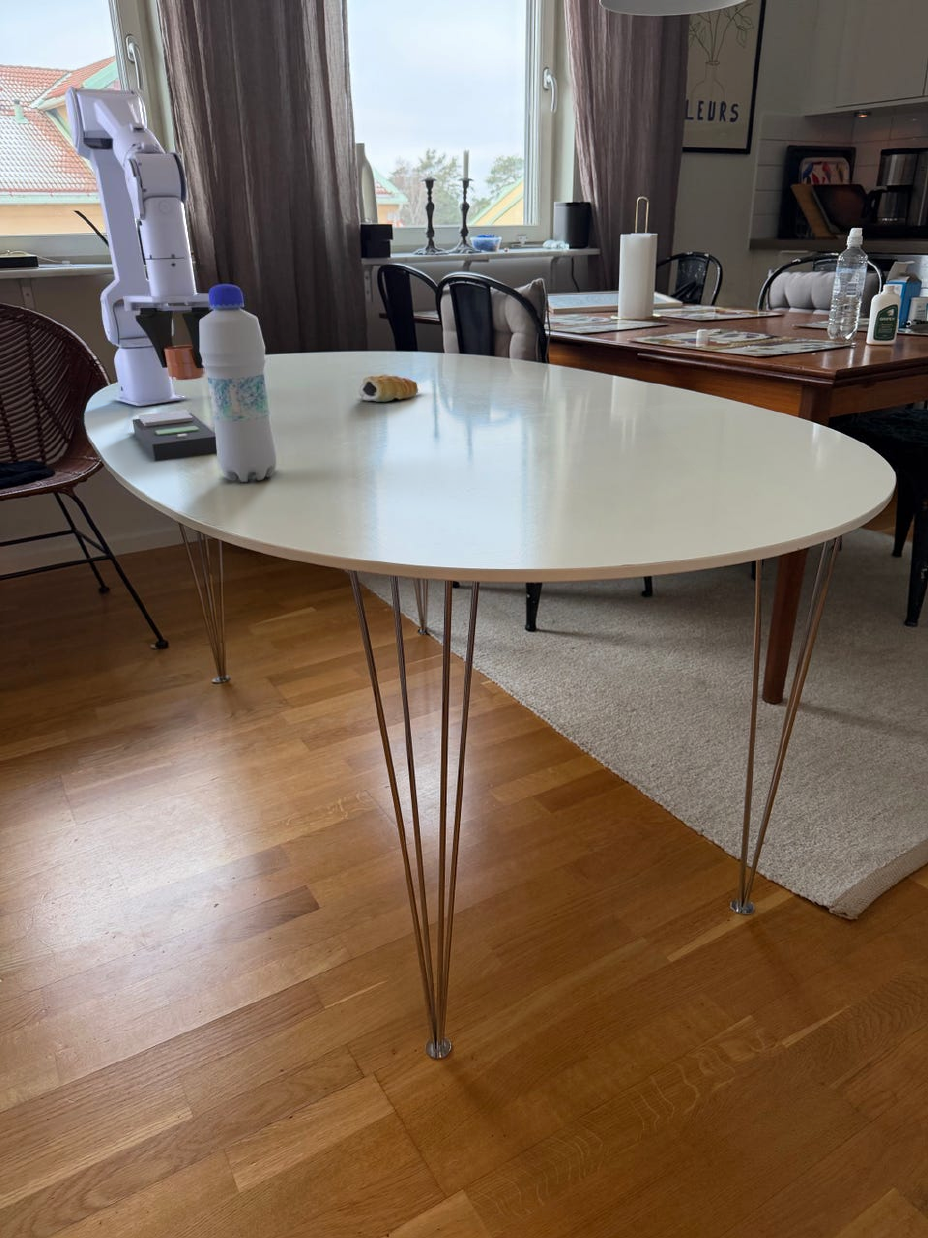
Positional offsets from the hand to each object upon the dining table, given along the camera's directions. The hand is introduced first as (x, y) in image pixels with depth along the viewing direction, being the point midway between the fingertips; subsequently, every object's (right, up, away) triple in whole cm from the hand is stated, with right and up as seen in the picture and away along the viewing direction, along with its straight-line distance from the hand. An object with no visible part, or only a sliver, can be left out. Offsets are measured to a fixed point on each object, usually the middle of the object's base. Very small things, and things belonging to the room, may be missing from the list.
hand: (185, 366), depth 116 cm
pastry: (+26, +1, +21) cm, 33 cm away
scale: (0, -11, -4) cm, 12 cm away
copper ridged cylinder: (0, -1, +1) cm, 1 cm away
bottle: (+14, -19, -21) cm, 31 cm away
